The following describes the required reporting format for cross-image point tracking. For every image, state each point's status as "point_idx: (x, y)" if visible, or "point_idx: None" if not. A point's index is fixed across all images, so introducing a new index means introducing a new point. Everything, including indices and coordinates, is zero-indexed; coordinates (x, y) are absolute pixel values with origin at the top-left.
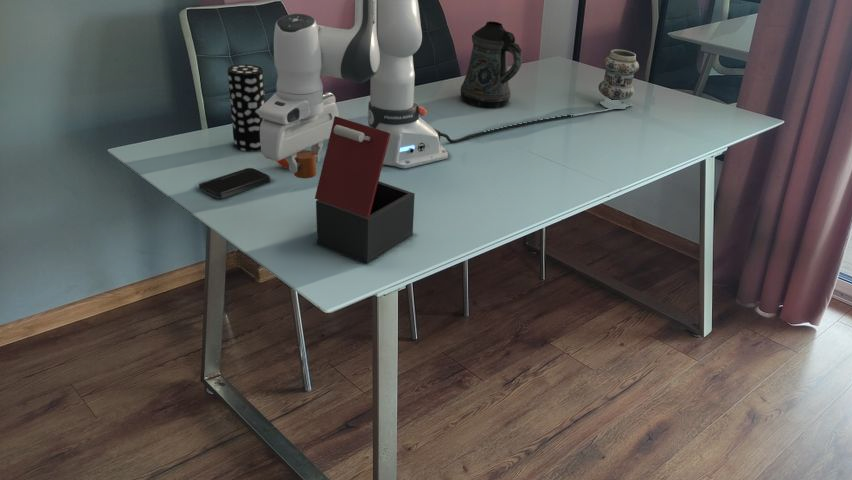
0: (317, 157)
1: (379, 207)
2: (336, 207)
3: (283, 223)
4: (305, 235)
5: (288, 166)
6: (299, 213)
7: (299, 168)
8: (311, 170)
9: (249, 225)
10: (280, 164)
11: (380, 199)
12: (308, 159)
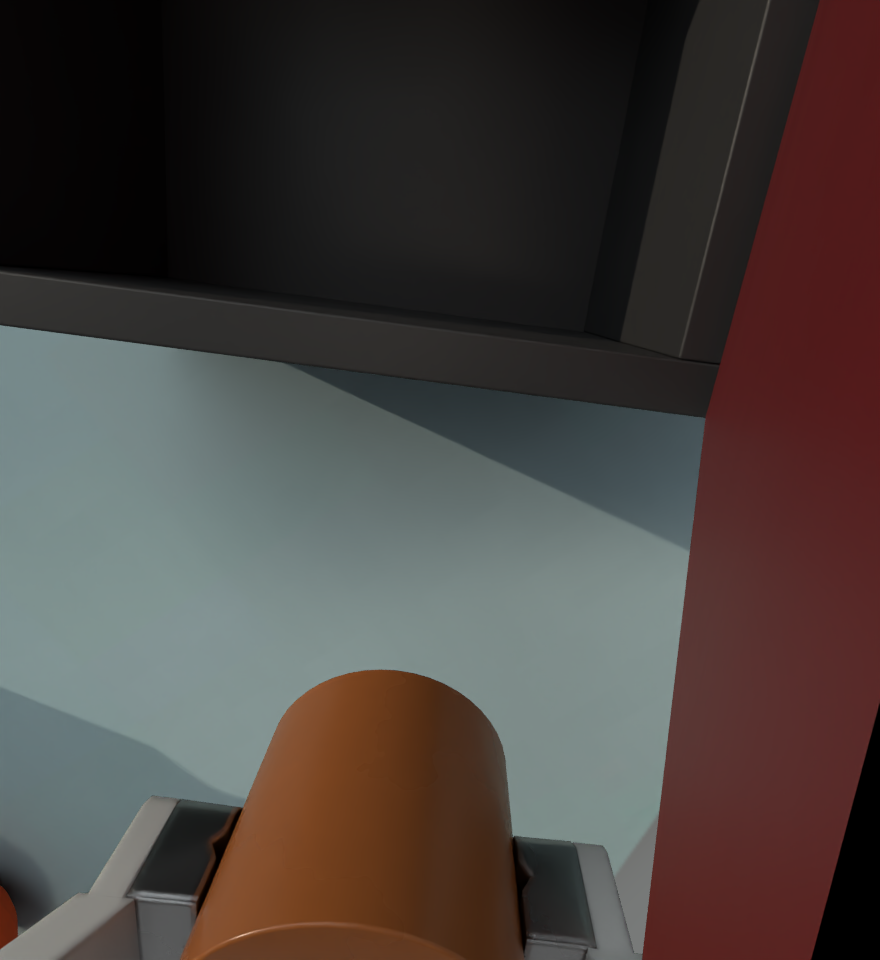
0: (150, 860)
1: (98, 122)
2: (784, 113)
3: (478, 631)
4: (535, 473)
5: (2, 897)
6: (341, 626)
7: (539, 866)
8: (422, 742)
9: (578, 738)
10: (17, 930)
11: (41, 84)
12: (447, 928)
